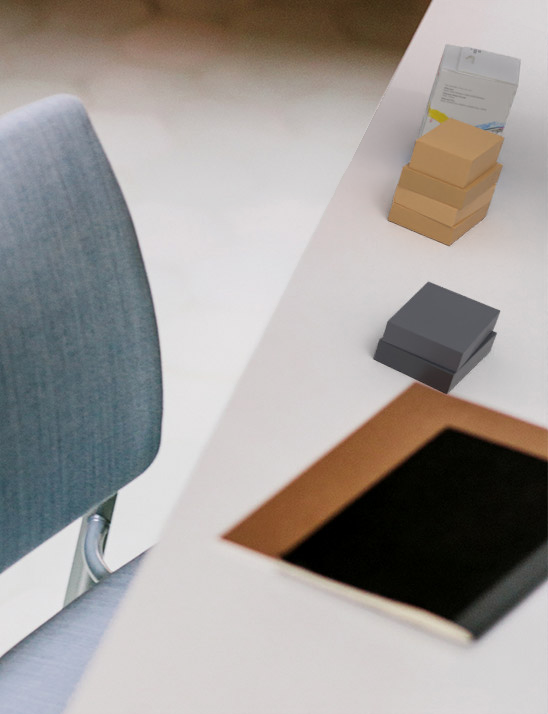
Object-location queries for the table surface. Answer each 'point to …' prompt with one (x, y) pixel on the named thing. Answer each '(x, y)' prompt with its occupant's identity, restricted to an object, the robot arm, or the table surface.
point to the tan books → (441, 204)
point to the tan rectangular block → (456, 152)
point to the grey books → (438, 337)
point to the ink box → (472, 89)
